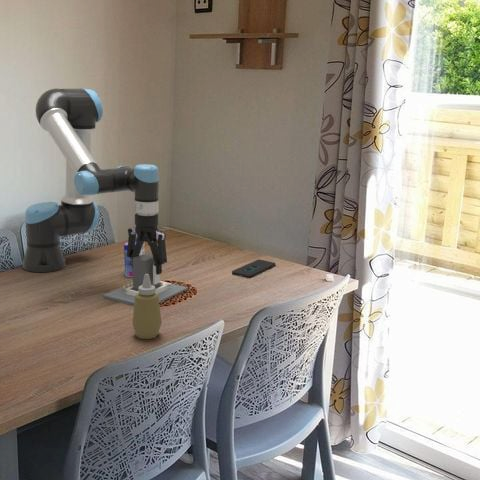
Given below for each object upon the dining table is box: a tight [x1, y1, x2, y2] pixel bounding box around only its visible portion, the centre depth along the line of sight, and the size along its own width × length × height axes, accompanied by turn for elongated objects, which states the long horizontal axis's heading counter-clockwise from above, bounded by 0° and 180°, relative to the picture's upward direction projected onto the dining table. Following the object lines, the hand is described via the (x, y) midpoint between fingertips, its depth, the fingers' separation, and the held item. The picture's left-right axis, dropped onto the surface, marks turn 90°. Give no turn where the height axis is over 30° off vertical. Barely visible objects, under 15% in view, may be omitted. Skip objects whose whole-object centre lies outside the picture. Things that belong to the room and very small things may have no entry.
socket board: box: [103, 280, 189, 307], centre depth 212 cm, size 18×22×2 cm
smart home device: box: [231, 259, 276, 279], centre depth 242 cm, size 8×2×20 cm
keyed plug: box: [132, 252, 160, 291], centre depth 211 cm, size 5×9×12 cm, turn 150°
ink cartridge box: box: [123, 237, 146, 278], centre depth 231 cm, size 10×6×14 cm, turn 174°
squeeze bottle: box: [131, 274, 162, 340], centre depth 177 cm, size 8×8×18 cm
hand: (146, 280), depth 211 cm, fingers open, 7 cm apart
